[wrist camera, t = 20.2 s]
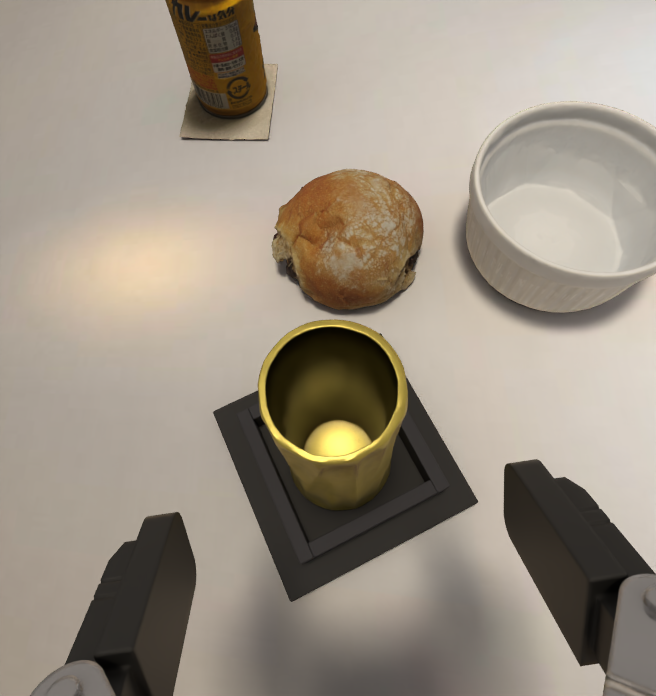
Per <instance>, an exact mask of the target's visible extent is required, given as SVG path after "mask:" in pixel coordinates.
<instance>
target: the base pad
mask: <svg viewBox="0 0 656 696" xmlns="http://www.w3.org/2000/svg"><path fill="white" fill-rule="evenodd" d="M380 335H381V336H382V334H381V333H380ZM382 337H383V336H382ZM406 382H407V390H408V407H407V412H406V415H405V417H404V419H403V421H402V424H401V427H400V430H399V432H398V434H397V436H396V439H395V443H394V446H393V451H392V457H391V466H390V473H389V476H388V478H387V481H386V483H385V484H384V486H383V488H382V489H381V490H380V492H379V493H378V494H377V495H376V496H375V497H374V498H373V499H372V500H370V501H369V502H367V503H366V504H364V505H362V506H360V507H358V508H356V509H350V510H329V509H325V508H322V507H320V506H318V505H316V504H314V503H312V502H311V501H309V500H308V499H306V498H305V497H304V496H303V495H302V493H301V492H300V491H299V489H298V488H297V487H296V485H295V483H294V481H293V479H292V476H291V471H290V467H289V465H288V463H287V462H286V460H285V458H284V456H283V455H282V453H281V452H280V450H279V449H278V447H277V446H276V444H275V442H274V440H273V438H272V436H271V434H270V432H269V430H268V428H267V426H266V424H265V423H264V421H263V420H262V417H261V414H260V407H259V394H258V391H256V392H254V393H252V394H250V395H247V396H245V397H243V398H241V399H239V400H237V401H235V402H232V403H230V404H228V405H226V406H224V407H222V408H220V409H218V410H215V411H214V412H213V413H214V416H215V418H216V421H217V423H218V426H219V428H220V430H221V433H222V435H223V438H224V440H225V443H226V445H227V448H228V450H229V453H230V455H231V457H232V460H233V462H234V465H235V467H236V470H237V472H238V475H239V477H240V479H241V482H242V484H243V487H244V489H245V492H246V494H247V497H248V499H249V501H250V504H251V506H252V509H253V511H254V514H255V516H256V519H257V521H258V524H259V526H260V528H261V531H262V533H263V536H264V538H265V541H266V543H267V546H268V548H269V550H270V553H271V555H272V558H273V560H274V563H275V565H276V568H277V570H278V573H279V575H280V577H281V580H282V582H283V585H284V587H285V590H286V592H287V595H288V597H289V599H290V601H291V602H292V601H294V600H296V599H298V598H300V597H302V596H303V595H305V594H307V593H309V592H311V591H313V590H315V589H317V588H319V587H320V586H322V585H324V584H326V583H328V582H330V581H332V580H334V579H335V578H337V577H339V576H341V575H343V574H345V573H347V572H349V571H350V570H352V569H354V568H356V567H358V566H360V565H362V564H364V563H365V562H367V561H369V560H371V559H373V558H375V557H377V556H379V555H381V554H382V553H384V552H386V551H388V550H390V549H392V548H394V547H396V546H397V545H399V544H401V543H403V542H405V541H407V540H409V539H411V538H412V537H414V536H416V535H418V534H420V533H422V532H424V531H426V530H427V529H429V528H431V527H433V526H435V525H437V524H439V523H441V522H442V521H444V520H446V519H448V518H450V517H452V516H454V515H456V514H458V513H459V512H461V511H463V510H465V509H467V508H469V507H471V506H473V505H474V504H476V503H478V500H477V499H476V497H475V495H474V493H473V492H472V490H471V488H470V486H469V485H468V483H467V481H466V480H465V478H464V476H463V474H462V473H461V471H460V469H459V467H458V466H457V464H456V462H455V461H454V459H453V457H452V455H451V454H450V452H449V450H448V448H447V447H446V445H445V443H444V441H443V440H442V438H441V436H440V435H439V433H438V431H437V429H436V428H435V426H434V424H433V422H432V421H431V419H430V417H429V416H428V414H427V412H426V410H425V409H424V407H423V405H422V403H421V402H420V400H419V398H418V397H417V395H416V393H415V391H414V390H413V388H412V386H411V384H410V383H409V381H408V379H407V378H406Z"/></svg>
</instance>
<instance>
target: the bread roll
mask: <svg viewBox="0 0 656 696" xmlns="http://www.w3.org/2000/svg"><path fill="white" fill-rule="evenodd" d="M275 229H276V230H277V232H278V233H277V234H275V235H274V239H273V242H272V249H273V258H275V260H276V262H277V263H279V261H283V260H284V259H286V260H287V266H286V272H287V274H288V275H289V276H291V277H292V278H296V279H297V280H298V281H299V284H300V288H301V289H302V290H303V291H304V292H305V293H306V294H307V295H309V296H310V297H312V298H313V300H314V301H317V302H319V303H321V304H324V305H326V306H328V307H331V308H334V309H337V310H341V309H358V308H361V307H365V306H372V305H377V304H380V303H383V302H385V301H387V300H388V299H389V298H391V297H392V296H393V295H394V294H396V293H397V292H399V291H400V290H401V289H402V290H405V289H406V288H407V287H408V286H409V285H410V284H411V283H412V281H413V280H414V277H415V274H416V272H414V271H411V269H412V267H413V265H414V263H415V262H416V259H417V257H418V250H419V249H420V247H421V245H422V239H423V219H422V215H421V211H420V209H419V207H418V205H417V203H416V201H415V200H414V199H413V198H412V196H411V195H410V194H409V193H408V192H407V191H406V190H405V189H403V188H402V187H401V186H400V185H399V184H398V183H397V182H395V181H392V180H390V179H387V178H385V177H383V176H381V175H379V174H376V173H373V172H369V171H365V170H357V169H343V170H340V171H336V172H332V173H330V174H327V175H324V176H321V177H318V178H316V179H314V180H312V181H311V182H309V183H307V184H306V185H305V186H304V187H302V188H301V190H300V191H299V192H298V193H297V194H296V195H295V196H294V197H293V198H292V199H291V200H290V201H289V202H288V203H287V204H285V205H283V206H281V207H280V208H279V216H278V221H277V223H276V226H275Z"/></svg>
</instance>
